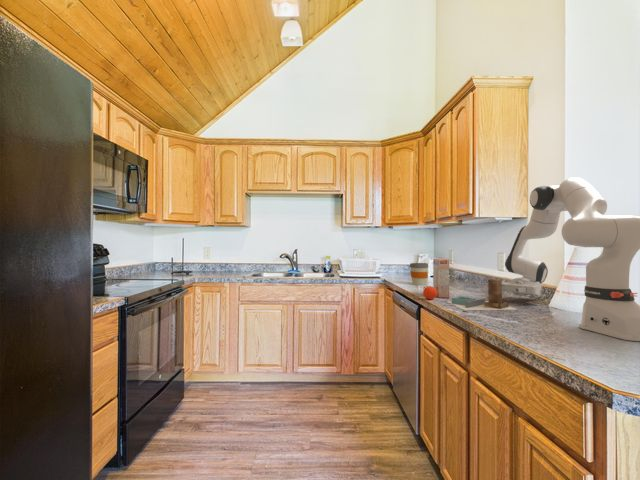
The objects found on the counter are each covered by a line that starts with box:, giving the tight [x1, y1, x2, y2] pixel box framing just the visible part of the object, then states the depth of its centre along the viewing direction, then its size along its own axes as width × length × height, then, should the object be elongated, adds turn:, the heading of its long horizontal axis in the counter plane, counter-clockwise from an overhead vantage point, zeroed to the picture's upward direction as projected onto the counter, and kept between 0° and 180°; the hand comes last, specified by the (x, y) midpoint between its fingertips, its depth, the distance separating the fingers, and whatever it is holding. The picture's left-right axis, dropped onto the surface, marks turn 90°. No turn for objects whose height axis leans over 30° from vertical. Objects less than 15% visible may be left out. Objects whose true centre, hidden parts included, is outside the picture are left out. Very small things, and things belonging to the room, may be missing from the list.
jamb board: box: [446, 298, 519, 313], centre depth 146 cm, size 20×23×4 cm
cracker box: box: [432, 257, 450, 299], centre depth 178 cm, size 14×6×21 cm, turn 171°
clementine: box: [422, 285, 437, 301], centre depth 168 cm, size 8×7×7 cm
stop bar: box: [487, 278, 503, 304], centre depth 143 cm, size 4×4×12 cm
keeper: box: [484, 301, 510, 309], centre depth 143 cm, size 7×8×2 cm
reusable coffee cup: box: [409, 262, 429, 286], centre depth 228 cm, size 13×13×15 cm
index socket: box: [451, 296, 477, 305], centre depth 151 cm, size 8×8×2 cm
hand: (506, 289), depth 149 cm, fingers open, 8 cm apart
